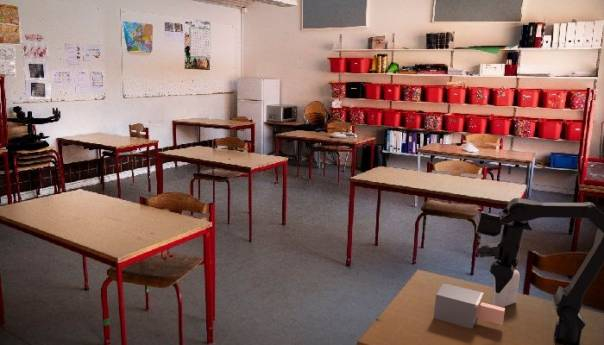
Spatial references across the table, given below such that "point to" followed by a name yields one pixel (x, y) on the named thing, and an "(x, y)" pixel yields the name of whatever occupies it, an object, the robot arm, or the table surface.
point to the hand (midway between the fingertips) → (499, 287)
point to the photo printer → (507, 292)
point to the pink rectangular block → (490, 313)
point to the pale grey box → (457, 305)
